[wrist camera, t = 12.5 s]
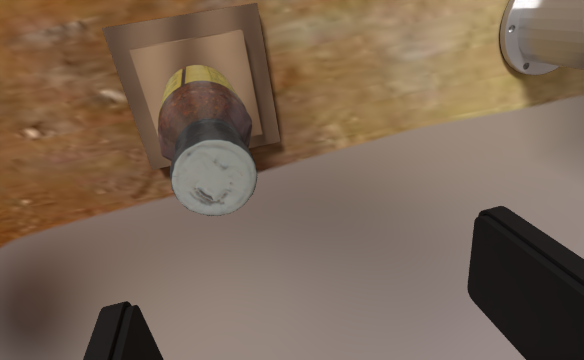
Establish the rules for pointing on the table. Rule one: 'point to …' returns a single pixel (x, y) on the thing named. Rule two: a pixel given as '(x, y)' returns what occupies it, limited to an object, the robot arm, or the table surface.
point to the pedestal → (194, 51)
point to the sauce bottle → (206, 141)
